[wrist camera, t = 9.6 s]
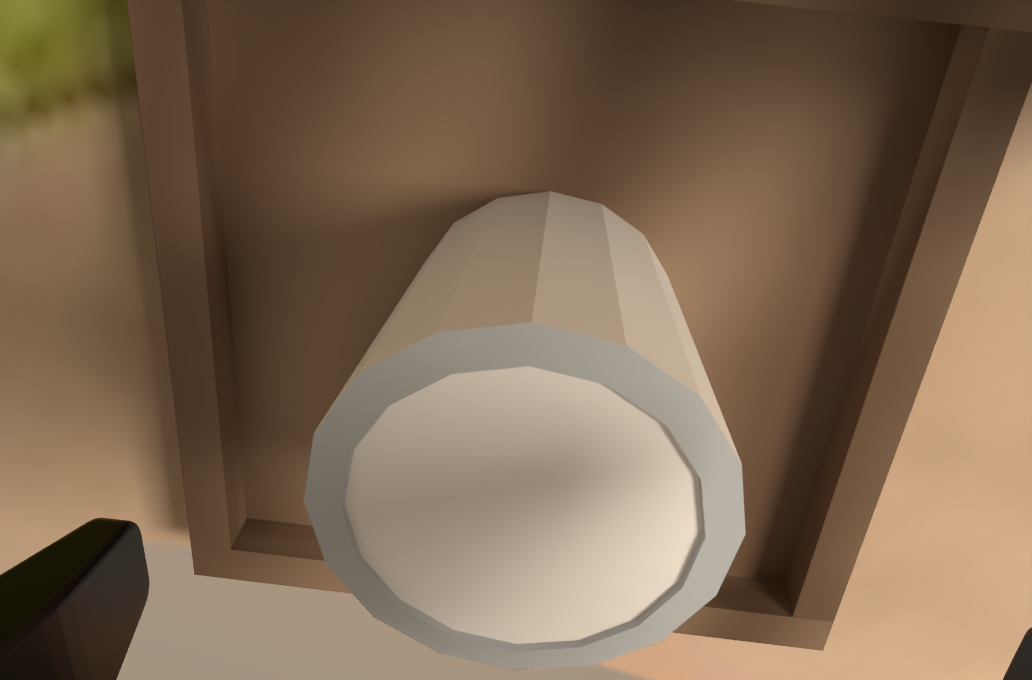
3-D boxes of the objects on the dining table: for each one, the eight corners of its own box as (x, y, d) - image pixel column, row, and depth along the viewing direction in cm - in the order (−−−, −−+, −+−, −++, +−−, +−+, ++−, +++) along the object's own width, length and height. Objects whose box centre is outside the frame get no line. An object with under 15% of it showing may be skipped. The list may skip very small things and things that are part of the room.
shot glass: (533, 486, 22) (511, 730, 16) (326, 297, 20) (212, 499, 14) (765, 326, 20) (842, 547, 14) (556, 91, 18) (535, 228, 12)
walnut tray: (1021, -45, 17) (1072, -29, 15) (806, 592, 24) (822, 650, 23) (161, -134, 17) (111, -130, 15) (222, 522, 25) (194, 574, 23)
